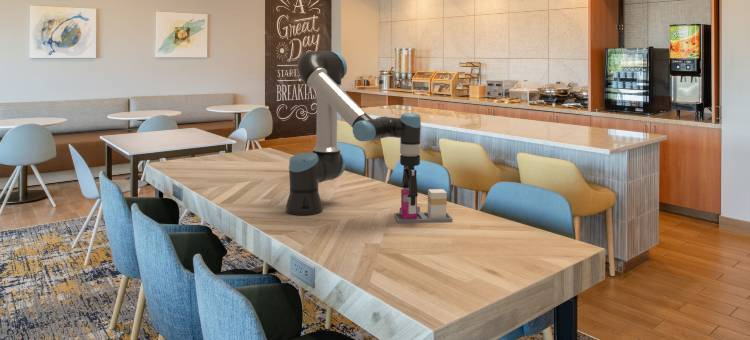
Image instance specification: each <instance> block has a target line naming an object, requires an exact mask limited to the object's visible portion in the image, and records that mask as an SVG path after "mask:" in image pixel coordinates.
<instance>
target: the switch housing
mask: <svg viewBox="0 0 750 340" xmlns="http://www.w3.org/2000/svg"><path fill="white" fill-rule="evenodd" d="M419 212H421V207H420V206H417V213H419ZM399 213H401V207H399Z"/></svg>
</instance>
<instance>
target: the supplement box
mask: <svg viewBox="0 0 750 340" xmlns="http://www.w3.org/2000/svg"><path fill="white" fill-rule="evenodd" d="M400 191H401V192H400V197H401V198H400V208H401V217H402V219H417V207H418V196H417V197H416V214H409V197H408V195H410V194H409V189H403V188H401V190H400Z"/></svg>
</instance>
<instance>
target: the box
mask: <svg viewBox="0 0 750 340" xmlns="http://www.w3.org/2000/svg"><path fill="white" fill-rule="evenodd" d="M447 194H448V192H447V191H446V190H445V189H443V188H438V189H436V188H433V189H430V188H429V189H428V190H427V212H428V216H427V217H428V218H429V219H435V218H446V212H447V203H448V199H447V198H448V197H447V196H448V195H447Z"/></svg>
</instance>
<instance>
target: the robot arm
mask: <svg viewBox="0 0 750 340" xmlns="http://www.w3.org/2000/svg"><path fill="white" fill-rule="evenodd" d="M296 69H297V74H298V75H299V77H300V79H301V81H302V82H303V83H304V84H305V85H306V86H307V87H308V88H310V89H314V90H315V91H316V134H315V135H316V143H315V144H316V145H315V146H314V147H313V148H312V152H301V153H296V154H294V155H292V156H291V157H290V158H289V162H288V163H289V166H288V172H289V195H288V198H287V202H286V205H285V212H286V213H288V214H289V215H294V216H296V215H297V216H312V215H316V214H319V213H322V212H323V210H324V204H323V203H322V199H321V196H320V194H319V183H324V182H327V181H331V180H332V181H333V180H335V179H337V178H340V176H342V175H343V173H344V171H345V169H346V159H345V157H344V155H343V154H342V153H341V148H340V147H338V145H337V144H338V142H337V141H338V138H337V137H338V115H339V116H340V117H341V118H342V119H343V120H344V121H345V122H346V123H347V124H348V125H349V126H350V127H351V128H352V134H353V137H354V138H355V140H357V141H359V142H370V141H373V140H374V141H375V140H379V139H385V138H397V139H400V140H399V141H400V142H399V143H400V144H399V145H400V146H399V153H400V155H399V156H400V157H399V161H400V162H399V164H400V165H401V166H403V172H402V180H401V185H402V189H409V194H410V195H408V197H409V214H416V197H417V198H418V196H419V194H418V180H417V170H416V169H415V167H417V166H419V165H421V155H420V153H421V149H422V147H423V146H422V145H421V132H422V130H421V129H422V125H421V124H422V123H421V121H422V120H421V119H422V118H421V115H420V114H419V113H413V112H411V113H410V112H408V113H406V112H405V113H402V114H401V115H400V118H398V117H389V116H377V117H376V118H371V116H370V115H369V114H368V113H366V111H365V110H364V109H362V107H360V106H359V104H358V103H356V102H355V101H354V100H353V98H351V96H349V95H348V94H347V92H345V90H344V89H342V87H341V86H342V79H344V78H345V76H346V74H347V72H348V64H347V61H346V59H345V58H344V57H343V55H342V54H341V53H340V52H337V51H331V50H329V51H327V50H326V51H324V50H319V51H317V50H311V51H307V52H305V53H303V54H302V55H301V56H300V58H299V60H298V61H297V68H296Z"/></svg>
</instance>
